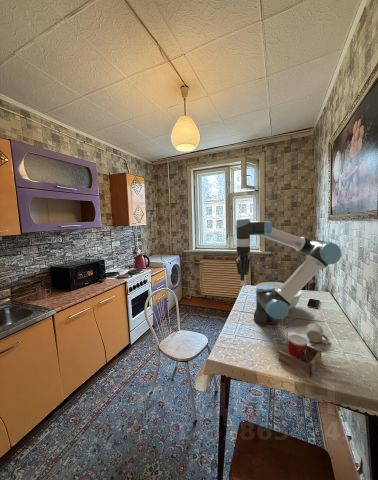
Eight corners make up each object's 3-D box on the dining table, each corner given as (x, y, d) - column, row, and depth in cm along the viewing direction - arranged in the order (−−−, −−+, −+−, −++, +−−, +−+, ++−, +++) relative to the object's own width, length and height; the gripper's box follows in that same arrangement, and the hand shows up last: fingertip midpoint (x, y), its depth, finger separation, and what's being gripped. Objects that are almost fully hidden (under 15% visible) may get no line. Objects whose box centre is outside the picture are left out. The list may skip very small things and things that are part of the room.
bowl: (309, 318, 135) (310, 297, 133) (259, 317, 140) (259, 296, 138) (293, 299, 166) (293, 281, 165) (252, 298, 172) (252, 281, 170)
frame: (290, 347, 107) (290, 338, 106) (321, 360, 96) (321, 351, 96) (278, 360, 98) (278, 351, 97) (310, 377, 87) (311, 366, 87)
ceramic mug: (306, 341, 111) (306, 328, 111) (306, 333, 118) (307, 321, 117) (329, 347, 106) (330, 333, 105) (328, 339, 113) (329, 326, 112)
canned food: (299, 369, 92) (299, 346, 91) (284, 358, 99) (284, 337, 98) (310, 363, 95) (311, 341, 94) (295, 353, 102) (295, 332, 101)
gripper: (244, 243, 123) (244, 281, 126) (230, 246, 115) (231, 286, 117) (255, 244, 118) (255, 284, 120) (242, 247, 109) (242, 290, 112)
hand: (243, 285), depth 119 cm, fingers closed
